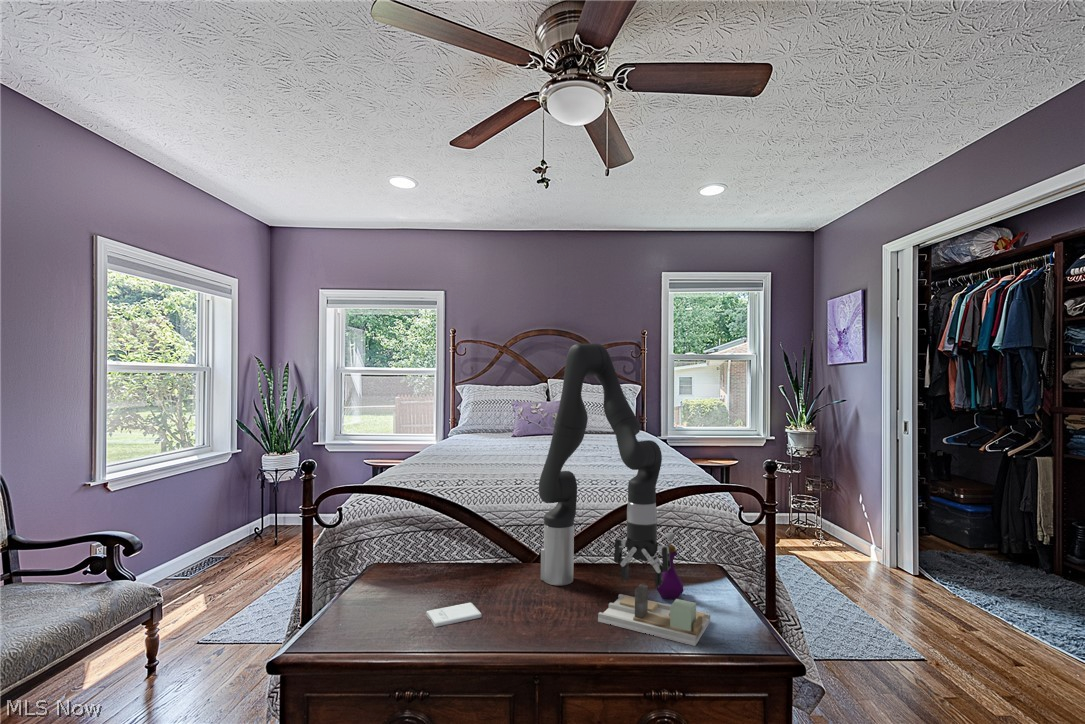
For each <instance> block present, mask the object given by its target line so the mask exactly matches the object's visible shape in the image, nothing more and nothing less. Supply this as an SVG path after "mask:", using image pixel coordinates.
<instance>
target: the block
mask: <svg viewBox="0 0 1085 724" xmlns="http://www.w3.org/2000/svg"><path fill="white" fill-rule="evenodd" d="M670 605H671V606H670V627H675V628H679V629H683V630H687V631H691V630H692V629H693V627H694V622H695V621H696V611H697V602H693V601H689V600H684V599H679V598H678V599H676V600H675V599H674V601H673V602H672V603H671V604H670Z"/></svg>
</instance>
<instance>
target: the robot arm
mask: <svg viewBox="0 0 1085 724" xmlns="http://www.w3.org/2000/svg"><path fill="white" fill-rule="evenodd" d="M563 375H564V376H563V382H562V383H563V384H562V391H561V396H560V401H559V404H558V405H559V406H558V409H557V412H556V413H557V414H556V416H555V417H556V418H555V422H554V426H553V431H552V437H551V441H550V446H549V448H548V452H547V457H546V460H545V463H544V465H543V468H542V471H541V474H540V478H539V482H538V493H539V494H538V495H539V497H540V498H539V499H541V501H542V502H543V503H546V504H555V503H556V505H555V506H554V508H552V509H551V510H549V511H547V512H546V513H545V514H544V516H543V547H542V548H541V550H540V580H541V581H543V582H544V583H546V584H548V585H551V586H567V585H570V584H572V583H573V582H574V566H575V565H574V564H575V563H574V557H575V555H574V554H575V553H574V551H575V550H574V548H575V547H574V545H575V541H574V540H575V539H574V538H575V518H576V514H577V498H578V483H577V478H576V476H575V473H573V472H572V471H569V470H562V469H563V467H564V465H565V463H566V462H567V461H568V460H569V458H570V457H571V456H572V455H573V454H574V453H575V451H576V450H577V449H578V448H579V446H580V445H581V443H582V442H583V441H584V437H585V434H586V429H587V426H588V419H589V418H588V411H587V409H586V406H585V404H584V401H583V397H582V390H583V384H584V380H585V378H586V377H593V376H595V377H596V378H597V379H598V381H599V382H600V384H601V387H602V389H603V411H604V415H605V417H606V420H607V421H608V424H609V425H610V427H611V429H612V430H613V433H614V434H615V437H616V438H615V439H616V443H617V447H618V451H619V456H620V459H621V461H622V462H623V464H624V465H625V466H626V467H627V468H629V469H630V470H633V471H637V473H636V475H635V476H633V477H631V479H630V480H629V481H628V484H627V507H626V539H623V538H622V537H618V538H616V539H615V540H614V551H613V552H614V556H613V561H614V563H616V564H619V565H620V576H621V579H622V581H623V582H627V581H629V578H630V572H629V571H630V569H629V568H630V564H629V562H630V561H631V560H632V559H634V560H636V561H637V560H639V561H642V562H648V563H649V565H650V566H652V568H653V569H654V570H655V572H654V579H655V580H654V582H655V583H654V587H655V588H659V587H660V586H661V585H662V583H663V572H667V571H668V570H669V569H670V568H671V566H670V549H669V546H668V545H669V544H666V545H659V544H658V540H657V539H658V535H657V534H658V531H657V529H658V511H657V510H658V509H657V501H656V500H657V492H656V491H657V490H656V487H657V483H658V480H659V475H660V472H661V471H660V470H661V467H662V459H663V456H662V450H661V448H660V446H659V444H658V443H657V442H655V440H638V439H637V435H638V434H639V433H640V431H641V429H642V428H641V424H640V422H639V420H638V418H637V415H636V414H635V413H634V411H633V410H632V409H633V408H631V406H630V404H629V402H628V399H627V398H626V396H625V394H624V391H623V389H622V386H621V384H620V380H619V377H618V374H617V371H616V369H615V367H614V364H613V361H612V359H611V357H610V354H609V352H608V350H607V348H606V347H605V346H604V345H602V344H600V343H597V342H596V343H594V342H593V343H592V342H591V343H575V344H573V345H572V346H571V347H570V348H569V350H568V352H567V354H566V359H565V366H564V373H563ZM624 547H626V549H627V550H628V553H627V554H626V555H625V557H623V548H624ZM658 551H659V554H660V555H661V559H662V562H661V561H660V558H659V557H658V555H657V552H658Z"/></svg>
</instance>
